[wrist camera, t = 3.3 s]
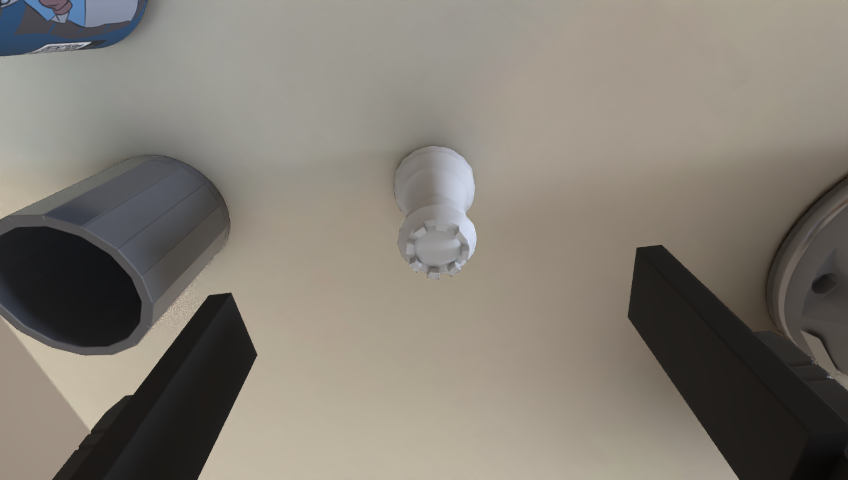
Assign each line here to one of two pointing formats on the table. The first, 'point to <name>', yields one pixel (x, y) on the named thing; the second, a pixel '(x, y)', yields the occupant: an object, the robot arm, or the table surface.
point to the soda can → (65, 24)
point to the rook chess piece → (435, 210)
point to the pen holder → (109, 254)
